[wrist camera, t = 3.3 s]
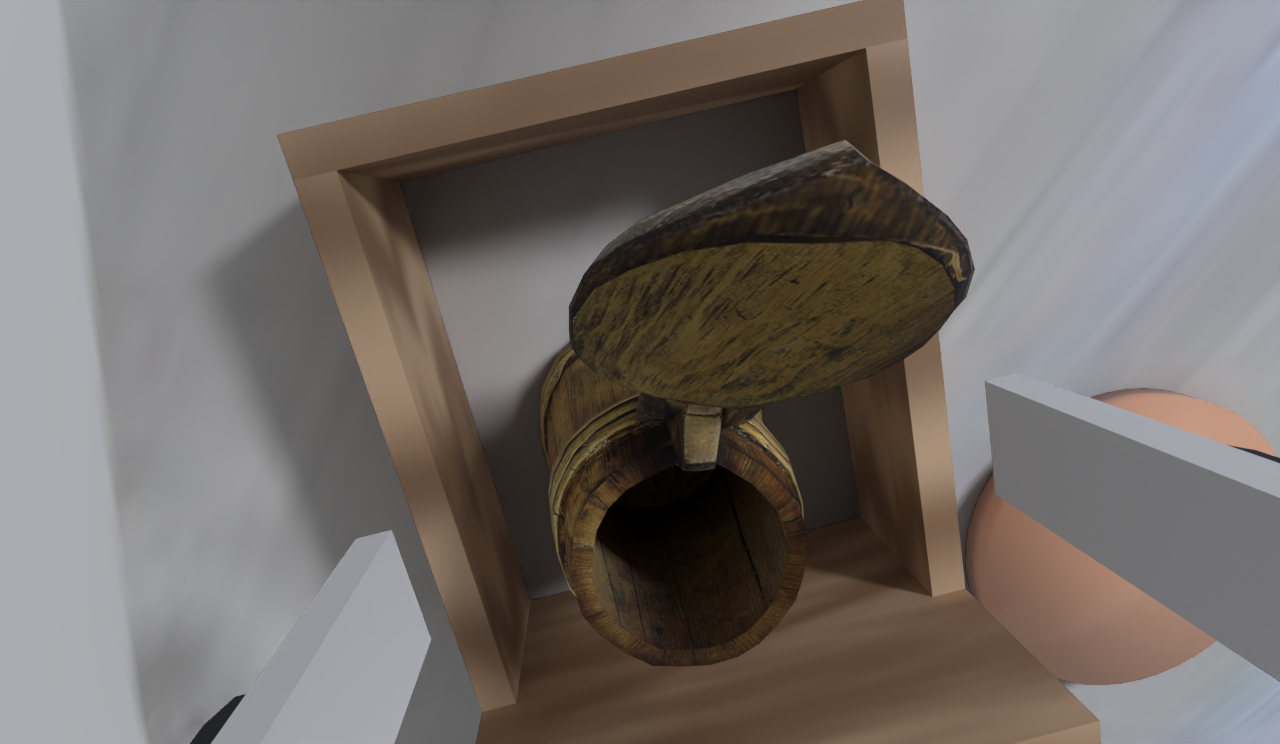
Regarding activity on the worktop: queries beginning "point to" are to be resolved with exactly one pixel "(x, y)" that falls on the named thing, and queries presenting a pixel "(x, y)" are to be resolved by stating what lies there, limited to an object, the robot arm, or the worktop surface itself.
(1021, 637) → the peach round disc
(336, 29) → the worktop surface
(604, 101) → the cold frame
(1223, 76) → the worktop surface
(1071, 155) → the worktop surface
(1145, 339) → the worktop surface
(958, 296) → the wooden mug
